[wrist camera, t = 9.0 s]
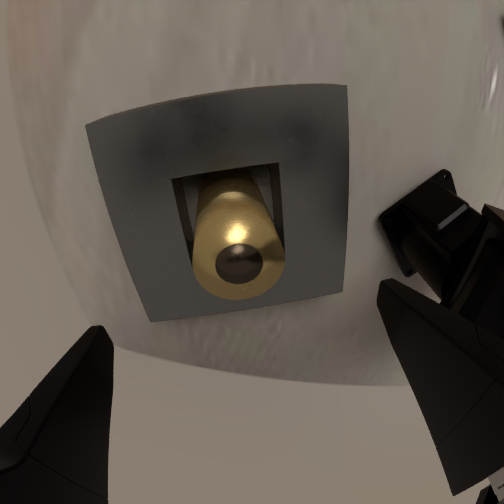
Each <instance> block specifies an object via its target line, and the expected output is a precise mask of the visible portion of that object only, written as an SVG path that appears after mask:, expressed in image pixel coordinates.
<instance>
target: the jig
mask: <svg viewBox="0 0 504 504" xmlns="http://www.w3.org/2000/svg"><path fill="white" fill-rule="evenodd" d="M85 127H86V131H87V136H88V140H89V144H90V148H91V152H92V156H93V160H94V164H95V168H96V172H97V175H98V179H99V182H100V186H101V189H102V193H103V196H104V199H105V203H106V206H107V209H108V212H109V215H110V218H111V221H112V225H113V228H114V230H115V233H116V236H117V239H118V242H119V245H120V248H121V250H122V253H123V256H124V259H125V261H126V264H127V267H128V269H129V272H130V274H131V277H132V280H133V282H134V285H135V287H136V290H137V292H138V294H139V297H140V299H141V302H142V304H143V306H144V309H145V311H146V313H147V316H148V318H149V320H150V322H157V321H165V320H173V319H181V318H189V317H196V316H204V315H211V314H218V313H225V312H231V311H238V310H244V309H251V308H257V307H263V306H269V305H275V304H281V303H286V302H292V301H298V300H303V299H309V298H314V297H319V296H324V295H329V294H335V293H340V292H342V291H343V280H344V268H345V255H346V240H347V222H348V195H349V123H348V98H347V85H337V84H294V85H278V86H265V87H254V88H245V89H236V90H228V91H221V92H214V93H208V94H202V95H196V96H190V97H185V98H180V99H175V100H170V101H165V102H160V103H156V104H152V105H147V106H143V107H139V108H135V109H131V110H127V111H124V112H120V113H117V114H113V115H110V116H106V117H104V118H101V119H99V120H96V121H94V122H91V123H89V124H86V125H85ZM261 164H269V165H270V176H271V187H272V198H273V210H274V222H275V229H276V231H277V234H278V236H279V239H280V241H281V244H282V246H283V249H284V253H285V265H284V269H283V272H282V274H281V276H280V278H279V279H278V281H277V282H276V283H275V284H274V285H273V286H272V287H271V288H270V289H268V290H267V291H265V292H264V293H262V294H260V295H258V296H255V297H252V298H248V299H242V300H230V299H224V298H221V297H218V296H215V295H213V294H211V293H210V292H208V291H207V290H205V289H204V288H203V287H202V286H201V285H200V283H199V282H198V281H197V279H196V277H195V274H194V271H193V264H192V261H193V248H194V236H193V232H192V228H191V223H190V219H189V214H188V210H187V205H186V200H185V196H184V191H183V186H182V181H181V177H184V176H189V175H195V174H201V173H207V172H213V171H219V170H226V169H232V168H239V167H246V166H254V165H261Z"/></svg>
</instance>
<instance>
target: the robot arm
mask: <svg viewBox="0 0 504 504" xmlns="http://www.w3.org/2000/svg"><path fill="white" fill-rule="evenodd" d="M445 175H446V176H445ZM444 176H445V178H444ZM481 213H482V215H481V214H480V213H479V212H477V211H476V210H474V209H473V208H472V207H470V206H469V204H468V203H467V202H466V201H464V200H463V199H461V198H460V197H458V196H457V193H456V189H455V186H454V182H453V179H452V175H451V173H450V172H449V171H448V170H446V169H442V170H440V171H439V172H438V173H436V174H435V175H434V176H432V177H431V178H430V179H428V180H427V181H425V182H424V183H423V184H421V185H420V186H419V187H417V188H416V189H415V190H413V191H412V192H410V193H409V194H408V195H406V196H405V197H404V198H402V199H401V200H400V201H398V202H397V203H395V204H394V205H393V206H391V207H390V208H388V209H387V210H386V211H384V212H383V213H382V214H381V215H380V216H379V223H380V225H381V227H382V229H383V231H384V233H385V235H386V237H387V239H388V242H389V244H390V246H391V248H392V250H393V253H394V255H395V257H396V259H397V262H398V264H399V266H400V269H401V271H402V273H403V274H404V275H405V277H410V276H412V275H413V274H415V273H416V272H418V273H419V274H420V275H421V277H422V278H423V279H424V280H425V281H426V283H427V284H428V285H429V286H430V287H431V289H432V290H433V291H434V292H435V293H436V295H437V296H438V297H439V298H440V300H441V302H440V304H439V303H437V302H435V301H433V300H432V299H430V298H428V297H426V296H424V295H423V294H421V293H419V292H417V291H415V290H413V289H412V288H410V287H408V286H406V285H404V284H402V283H400V282H399V281H397V280H395V279H392V278H390V279H386V280H382V281H381V282H380V285H379V290H378V296H377V306H378V309H379V312H380V314H381V317H382V320H383V323H384V325H385V328H386V331H387V334H388V337H389V339H390V342H391V344H392V347H393V349H394V351H395V353H396V355H397V357H398V359H399V362H400V364H401V366H402V368H403V370H404V372H405V375H406V377H407V379H408V381H409V383H410V386H411V388H412V390H413V392H414V395H415V397H416V399H417V402H418V404H419V406H420V409H421V411H422V414H423V416H424V418H425V421H426V423H427V426H428V428H429V431H430V433H431V436H432V439H433V441H434V444H435V446H436V449H437V452H438V455H439V457H440V460H441V463H442V466H443V468H444V471H445V474H446V477H447V480H448V483H449V486H450V489H451V492H452V494H453V496H455V495H457V494H459V493H461V492H463V491H465V490H467V489H468V488H470V487H472V486H474V485H475V484H477V483H479V482H481V481H482V480H484V479H486V478H487V477H488V479H489V481H490V485H488V486H487V487H485V488H484V489H482V490H481V491H480V494H479V497H478V499H477V502H476V504H504V210H502V209H499V208H496V207H493V206H490V205H488V204H484V206H483V209H482V212H481ZM386 218H388V220H387V221H385V219H386ZM408 270H409V271H408ZM113 362H114V346H113V342H112V340H111V339H110V337H109V335H108V333H107V332H106V330H105V328H104V327H103V326H101V325H98V326H91V327H90V328H89V329H88V330H87V331H86V332H85V333H84V334H83V335H82V336H81V337H80V338H79V340H78V341H77V342H76V343H75V344H74V345H73V346H72V347H71V348H70V349H69V350H68V352H67V353H66V354H65V355H64V356H63V357H62V358H61V359H60V360H59V361H58V363H57V364H56V365H55V366H54V367H53V368H52V369H51V370H50V372H49V373H48V374H47V375H46V376H45V377H44V379H43V380H42V381H41V382H40V383H39V384H38V386H37V387H36V388H35V389H34V390H33V391H32V393H31V394H30V397H29V396H28V397H27V398H26V400H25V401H24V402H23V403H22V404H21V406H20V407H19V408H18V409H17V410H16V411H15V413H14V414H13V415H12V416H11V417H10V418H9V419H8V420H7V421H6V422H5V423H4V425H2V427H1V428H0V504H108V500H107V499H108V452H109V450H108V449H109V433H110V432H109V431H110V418H111V406H112V396H113V364H114V363H113Z"/></svg>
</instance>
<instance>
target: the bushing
mask: <svg viewBox="0 0 504 504" xmlns="http://www.w3.org/2000/svg"><path fill="white" fill-rule="evenodd" d="M192 264H193V271H194V274H195V277H196V279H197V281H198V282H199V283H200V285H201V286H202V287H203V288H204V289H205V290H207V291H208V292H210V293H211V294H213V295H215V296H218V297H221V298H224V299H230V300H242V299H248V298H252V297H255V296H258V295H260V294H262V293H264V292H265V291H267V290H268V289H270V288H271V287H272V286H273V285H274V284H275V283H276V282H277V281H278V279H279V278H280V276H281V274H282V272H283V269H284V265H285V253H284V249H283V246H282V244H281V241H280V239H279V236H278V234H277V231H276V229H275V226H274V224H273V221H272V219H271V216H270V214H269V211H268V209H267V206H266V204H265V202H264V199H263V197H262V194H261V192H260V189H259V187H258V185H257V183H256V181H255V179H254V178H253V177H252V176H251V175H250V174H249V173H248V172H246V171H245V170H243V169H240V168H232V169H226V170H219V171H213V172H211V173H210V174H209V175H208V176H207V177H206V178H205V179H204V180H203V182H202V184H201V186H200V189H199V195H198V205H197V215H196V225H195V236H194V248H193V261H192Z"/></svg>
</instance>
